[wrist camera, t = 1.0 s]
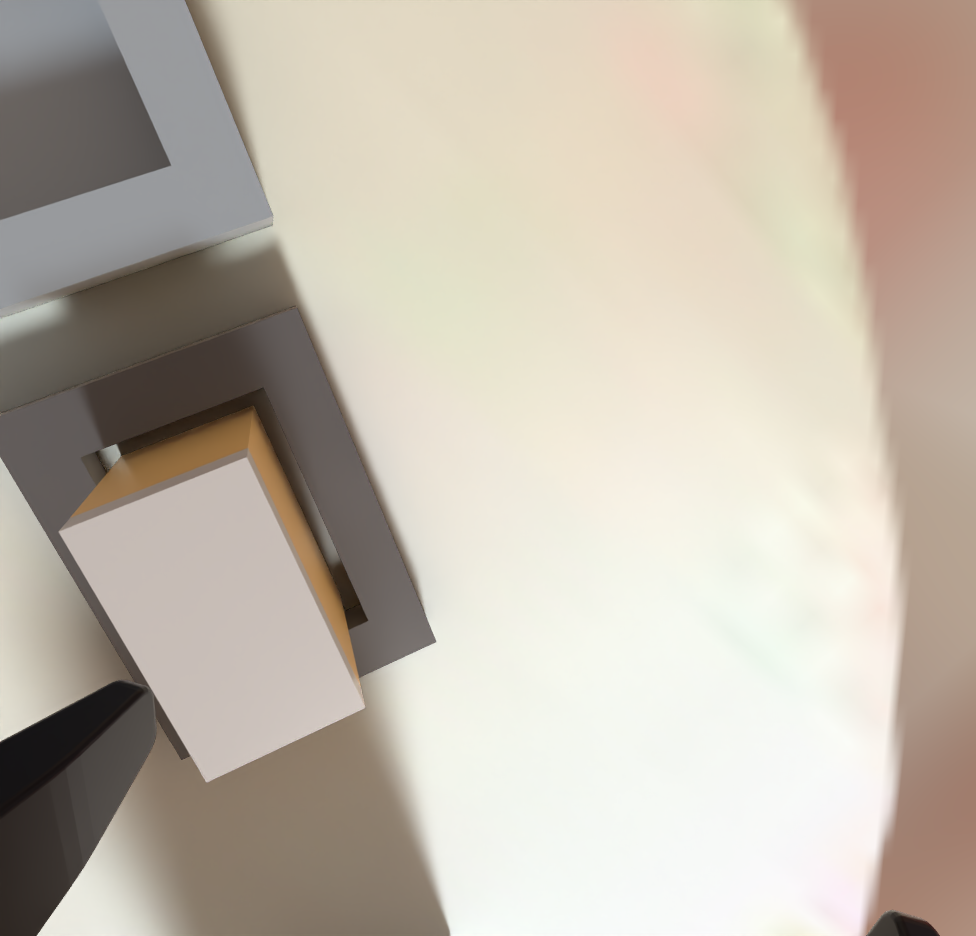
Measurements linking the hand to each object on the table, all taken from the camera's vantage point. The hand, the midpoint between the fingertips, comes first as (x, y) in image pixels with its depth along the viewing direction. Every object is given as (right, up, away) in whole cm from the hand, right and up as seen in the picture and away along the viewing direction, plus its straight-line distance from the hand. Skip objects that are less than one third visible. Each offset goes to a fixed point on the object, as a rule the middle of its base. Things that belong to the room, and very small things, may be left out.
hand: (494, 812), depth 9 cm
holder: (-7, +2, +11) cm, 13 cm away
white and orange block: (-7, +2, +11) cm, 13 cm away
